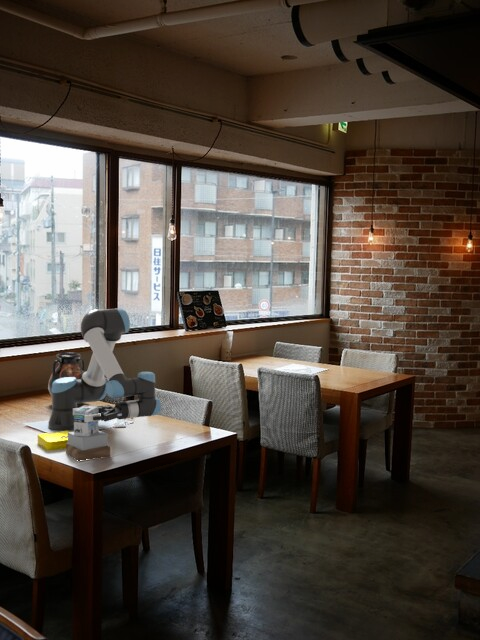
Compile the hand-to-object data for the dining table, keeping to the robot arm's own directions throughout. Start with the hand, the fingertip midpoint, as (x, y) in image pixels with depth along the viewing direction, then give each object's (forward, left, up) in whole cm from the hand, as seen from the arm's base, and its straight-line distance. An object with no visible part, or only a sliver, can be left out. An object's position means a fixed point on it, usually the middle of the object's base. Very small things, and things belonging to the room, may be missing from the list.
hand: (78, 415), depth 301 cm
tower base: (0, +4, -18) cm, 19 cm away
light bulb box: (0, +3, -8) cm, 9 cm away
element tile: (-21, -2, -18) cm, 28 cm away
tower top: (0, +4, -13) cm, 14 cm away
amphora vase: (-95, +29, -18) cm, 101 cm away
